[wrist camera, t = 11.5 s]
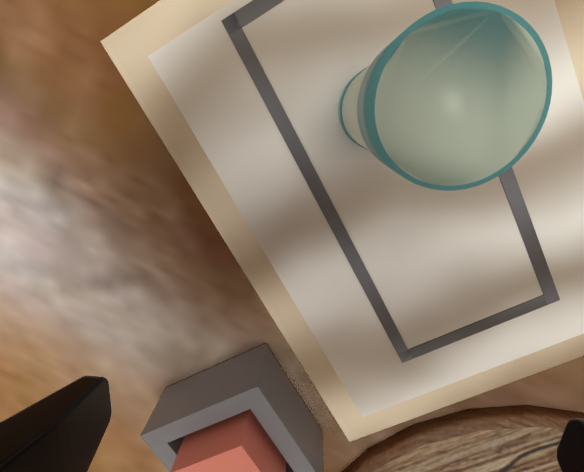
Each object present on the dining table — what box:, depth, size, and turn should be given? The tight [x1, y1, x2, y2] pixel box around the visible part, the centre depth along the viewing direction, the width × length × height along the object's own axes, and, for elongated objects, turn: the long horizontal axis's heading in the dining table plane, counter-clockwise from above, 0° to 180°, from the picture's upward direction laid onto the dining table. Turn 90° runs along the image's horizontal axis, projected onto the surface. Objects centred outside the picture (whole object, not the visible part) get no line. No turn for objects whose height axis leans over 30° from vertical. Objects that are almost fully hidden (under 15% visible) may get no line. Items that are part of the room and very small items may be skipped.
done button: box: [171, 409, 286, 472], centre depth 19 cm, size 4×4×3 cm
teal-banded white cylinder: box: [338, 1, 552, 191], centre depth 11 cm, size 3×3×9 cm
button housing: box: [140, 343, 324, 472], centre depth 21 cm, size 7×7×4 cm
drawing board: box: [100, 0, 584, 442], centre depth 17 cm, size 24×18×1 cm
